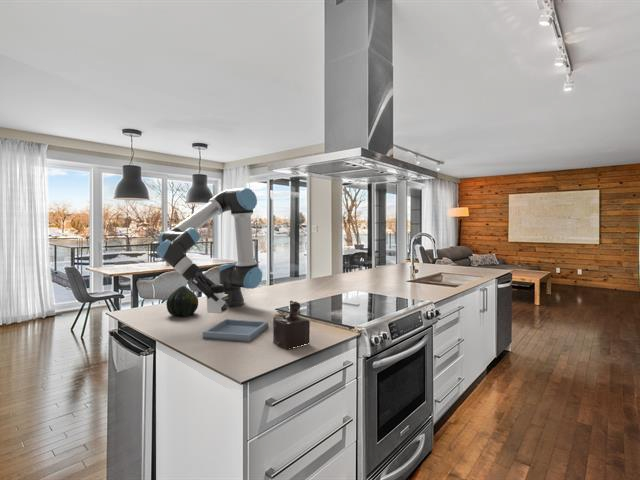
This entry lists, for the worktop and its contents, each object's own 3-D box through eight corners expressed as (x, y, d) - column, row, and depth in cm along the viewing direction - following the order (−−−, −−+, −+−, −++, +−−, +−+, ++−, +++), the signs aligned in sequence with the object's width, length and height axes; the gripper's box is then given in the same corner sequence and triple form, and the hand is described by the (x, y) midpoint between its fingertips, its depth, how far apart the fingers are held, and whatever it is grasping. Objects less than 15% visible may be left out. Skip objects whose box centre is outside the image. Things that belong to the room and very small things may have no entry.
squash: (176, 309, 170) (192, 283, 179) (155, 307, 178) (171, 281, 186) (194, 324, 180) (209, 298, 188) (174, 321, 187) (189, 296, 195)
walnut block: (275, 324, 165) (275, 313, 165) (288, 325, 165) (288, 313, 165) (273, 328, 159) (273, 317, 159) (287, 328, 159) (287, 317, 159)
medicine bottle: (221, 313, 161) (220, 286, 160) (206, 312, 162) (206, 286, 162) (228, 309, 168) (228, 283, 167) (214, 308, 169) (213, 283, 168)
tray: (226, 324, 164) (226, 319, 164) (268, 327, 160) (268, 321, 160) (202, 338, 145) (202, 332, 145) (249, 342, 141) (249, 335, 140)
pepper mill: (270, 343, 139) (270, 296, 138) (295, 337, 146) (294, 293, 145) (293, 354, 127) (293, 303, 126) (318, 348, 134) (318, 299, 133)
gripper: (187, 271, 173) (223, 302, 176) (174, 278, 152) (215, 314, 154) (198, 259, 173) (233, 291, 176) (187, 265, 152) (227, 302, 155)
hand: (225, 302), depth 165 cm, fingers closed on medicine bottle, 9 cm apart
